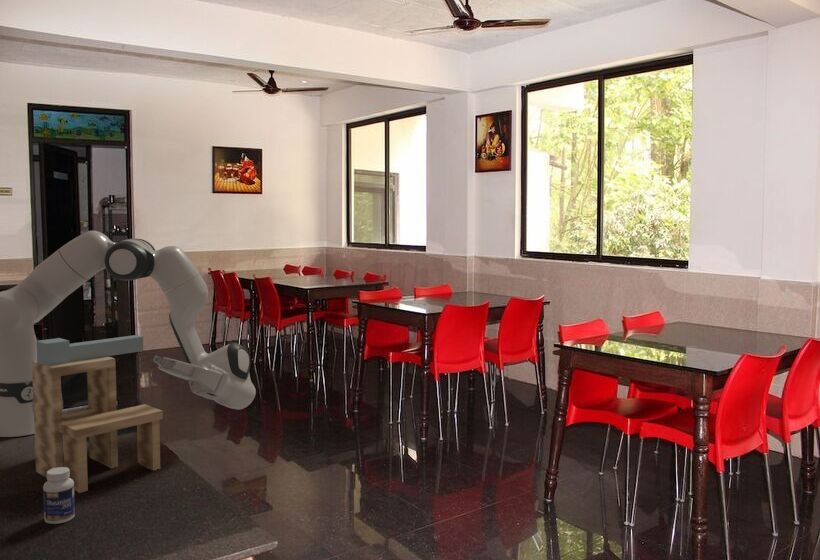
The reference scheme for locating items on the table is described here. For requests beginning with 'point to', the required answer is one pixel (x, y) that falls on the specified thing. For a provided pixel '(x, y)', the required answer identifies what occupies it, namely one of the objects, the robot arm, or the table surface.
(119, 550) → the table surface
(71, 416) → the tall stand
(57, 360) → the rail
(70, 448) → the bench
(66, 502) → the pill bottle
